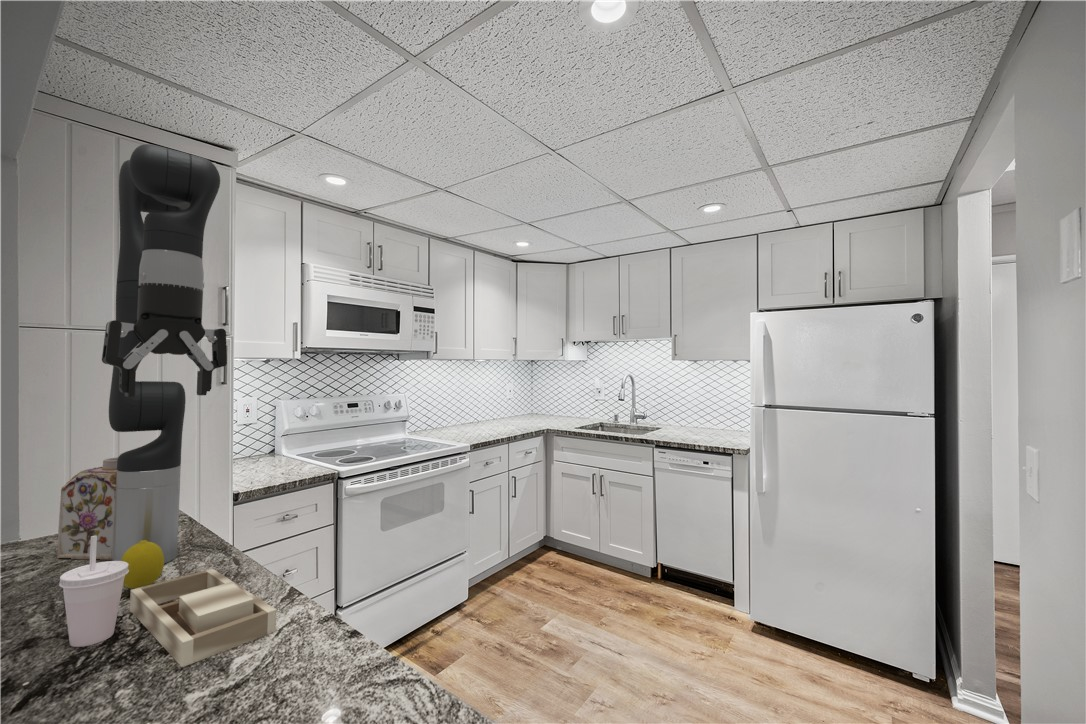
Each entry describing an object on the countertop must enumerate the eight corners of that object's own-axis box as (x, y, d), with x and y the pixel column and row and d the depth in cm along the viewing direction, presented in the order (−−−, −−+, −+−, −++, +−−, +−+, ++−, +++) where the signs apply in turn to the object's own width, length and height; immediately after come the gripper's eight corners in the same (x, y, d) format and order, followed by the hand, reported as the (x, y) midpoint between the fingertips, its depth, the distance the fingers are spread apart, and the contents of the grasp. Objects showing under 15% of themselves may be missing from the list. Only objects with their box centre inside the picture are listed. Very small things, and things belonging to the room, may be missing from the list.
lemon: (110, 601, 72) (113, 547, 73) (126, 587, 77) (128, 536, 78) (155, 595, 74) (158, 543, 75) (168, 582, 80) (170, 533, 80)
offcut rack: (129, 619, 67) (130, 589, 67) (211, 594, 75) (212, 568, 75) (181, 679, 54) (183, 642, 54) (275, 641, 62) (276, 609, 62)
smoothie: (39, 666, 56) (46, 544, 56) (81, 637, 62) (86, 528, 63) (103, 660, 57) (108, 541, 58) (137, 633, 63) (142, 526, 64)
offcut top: (178, 612, 62) (179, 596, 62) (231, 596, 67) (231, 581, 67) (197, 633, 57) (198, 616, 57) (253, 614, 62) (253, 599, 62)
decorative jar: (167, 540, 100) (171, 454, 101) (115, 561, 88) (120, 463, 89) (112, 539, 101) (116, 453, 101) (53, 559, 89) (58, 462, 90)
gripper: (218, 295, 78) (214, 394, 78) (101, 280, 67) (95, 395, 67) (236, 290, 74) (231, 396, 73) (114, 274, 63) (107, 398, 62)
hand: (167, 395), depth 70 cm, fingers open, 8 cm apart
